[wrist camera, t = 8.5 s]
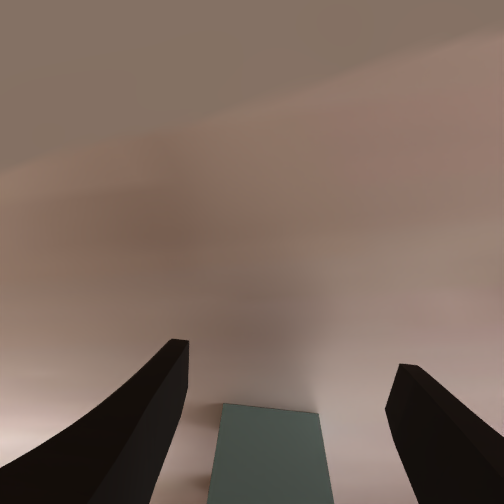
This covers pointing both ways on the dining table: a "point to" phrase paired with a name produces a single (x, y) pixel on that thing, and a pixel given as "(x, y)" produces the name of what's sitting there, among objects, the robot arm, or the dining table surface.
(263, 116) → the dining table surface
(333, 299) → the dining table surface
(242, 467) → the domino
